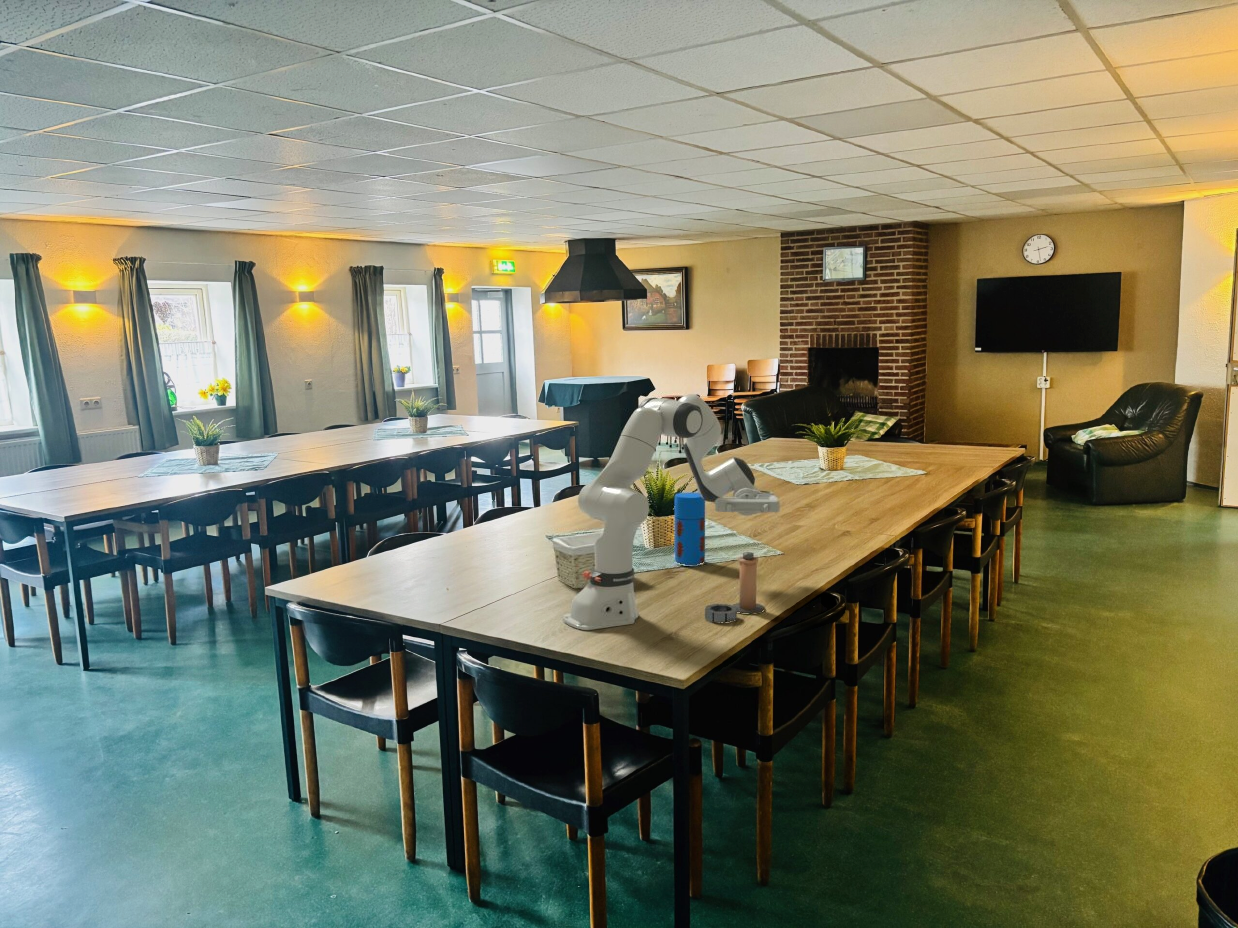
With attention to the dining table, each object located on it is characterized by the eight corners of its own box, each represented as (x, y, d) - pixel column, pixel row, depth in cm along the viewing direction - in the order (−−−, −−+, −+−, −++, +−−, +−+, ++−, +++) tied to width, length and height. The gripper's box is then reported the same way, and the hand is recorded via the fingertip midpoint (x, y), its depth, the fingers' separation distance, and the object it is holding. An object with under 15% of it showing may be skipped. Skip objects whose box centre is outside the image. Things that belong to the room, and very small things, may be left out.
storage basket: (571, 591, 285) (570, 546, 283) (551, 579, 299) (550, 537, 297) (636, 580, 297) (635, 537, 294) (613, 569, 311) (612, 529, 309)
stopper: (746, 611, 260) (747, 556, 257) (733, 606, 265) (733, 552, 262) (762, 608, 263) (762, 553, 260) (748, 603, 268) (749, 550, 265)
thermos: (668, 563, 318) (668, 495, 315) (688, 557, 326) (688, 491, 322) (691, 568, 310) (691, 499, 307) (711, 562, 318) (711, 494, 314)
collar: (718, 625, 249) (718, 615, 249) (699, 617, 257) (699, 607, 257) (743, 619, 254) (743, 609, 254) (723, 611, 262) (723, 601, 261)
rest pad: (746, 616, 257) (746, 614, 257) (724, 608, 265) (724, 606, 265) (771, 610, 262) (771, 608, 262) (749, 602, 271) (749, 600, 271)
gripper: (714, 491, 286) (713, 499, 272) (778, 492, 284) (780, 500, 270) (714, 510, 287) (713, 519, 273) (778, 511, 284) (780, 520, 271)
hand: (747, 509), depth 272 cm, fingers open, 8 cm apart
